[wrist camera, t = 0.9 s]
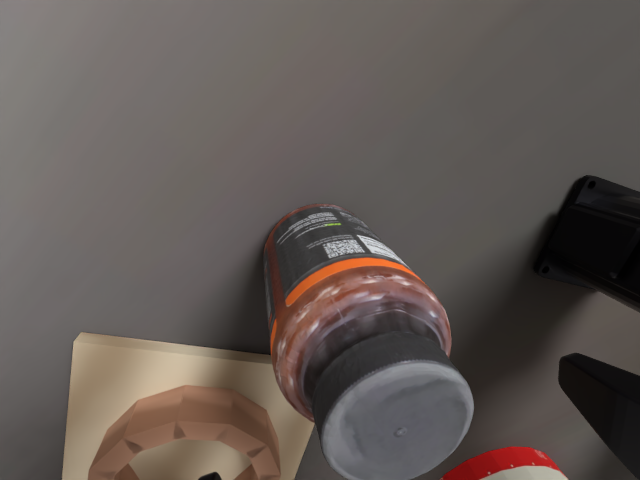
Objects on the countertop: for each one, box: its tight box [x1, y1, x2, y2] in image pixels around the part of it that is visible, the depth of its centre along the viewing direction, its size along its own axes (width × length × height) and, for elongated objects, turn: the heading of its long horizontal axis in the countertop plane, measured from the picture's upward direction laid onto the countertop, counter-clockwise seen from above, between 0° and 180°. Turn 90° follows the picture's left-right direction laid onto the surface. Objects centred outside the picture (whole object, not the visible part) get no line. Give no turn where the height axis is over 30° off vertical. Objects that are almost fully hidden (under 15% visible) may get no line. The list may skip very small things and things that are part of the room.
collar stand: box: [62, 332, 315, 480], centre depth 20 cm, size 14×14×3 cm
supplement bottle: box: [263, 204, 474, 480], centre depth 13 cm, size 6×6×11 cm
